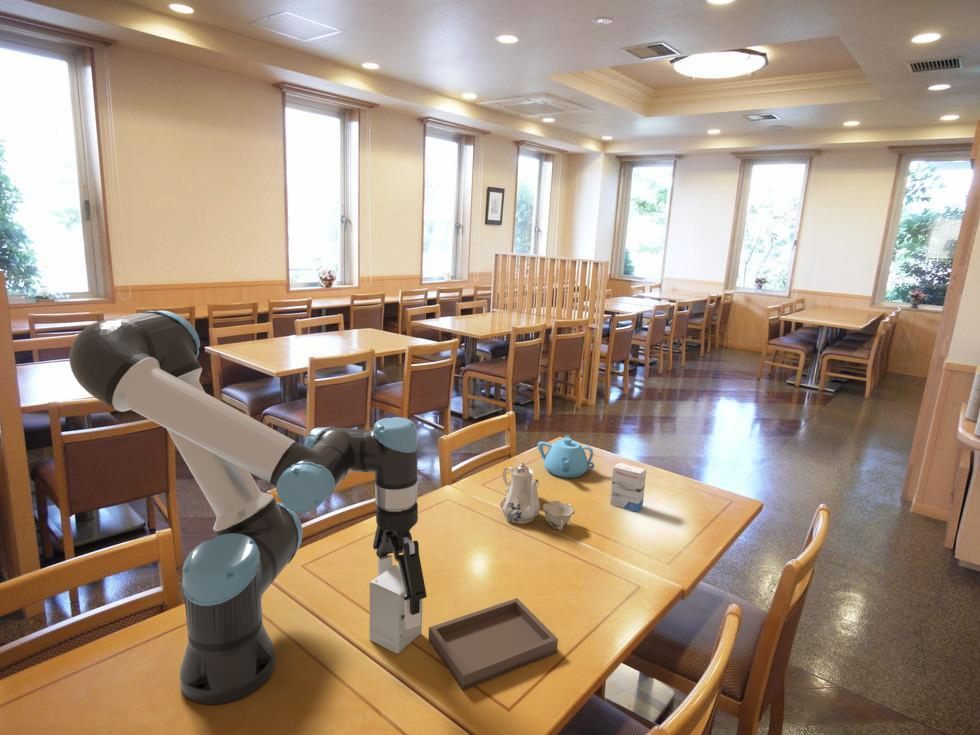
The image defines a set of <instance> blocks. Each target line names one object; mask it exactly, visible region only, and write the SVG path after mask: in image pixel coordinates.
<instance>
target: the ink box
mask: <svg viewBox="0 0 980 735" xmlns="http://www.w3.org/2000/svg"><path fill="white" fill-rule="evenodd" d="M611 476H612V478H611V486H610V488H611V489H610V499H609V500H610V501H609V505H611V506H614V507H619V508H622V509H625V510H629V511H633V512H636V513H638V512H639V511H640V510H641V509H642V508H643V506H644V497H645V496H644V495H645V488H646V478H647V477H646V476H647V469H646V468H643V467H638V466H633V465H630V464H626V463H623V462H618V463H617V464H616V465H614V466H613V468H612V475H611Z"/></svg>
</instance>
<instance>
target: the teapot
mask: <svg viewBox="0 0 980 735" xmlns="http://www.w3.org/2000/svg"><path fill="white" fill-rule="evenodd" d="M544 447H548V449H547V451H546V453H545V450H544ZM537 450H538V451H539V454H540V456H541V457H542V459H543V465H544V468H545V470H547V471H548V473H549V474H550V475H553V476H556V477H559V478H566V479H567V478H568V479H572V478H573V479H574V478H579V477H581V476H583V475H584V474H585V473H586V472H587V471H588V470H592V469H594V468H595V464H594V462H591V461H592V459H593V456H594V451H593V449H592V447H590V446H588V445H584V446H583V445H581V443H579V442H578V441H576V440H573V438H571V437H570V435H568V434H567V435H564V437H563V438H562V439H557V440H555V441H554V442H552V443H549V442H546V441H539V442H537ZM585 450H588V451H589V453H590V455H589V457H587V455H586V454H587V453H586V452H585Z"/></svg>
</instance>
